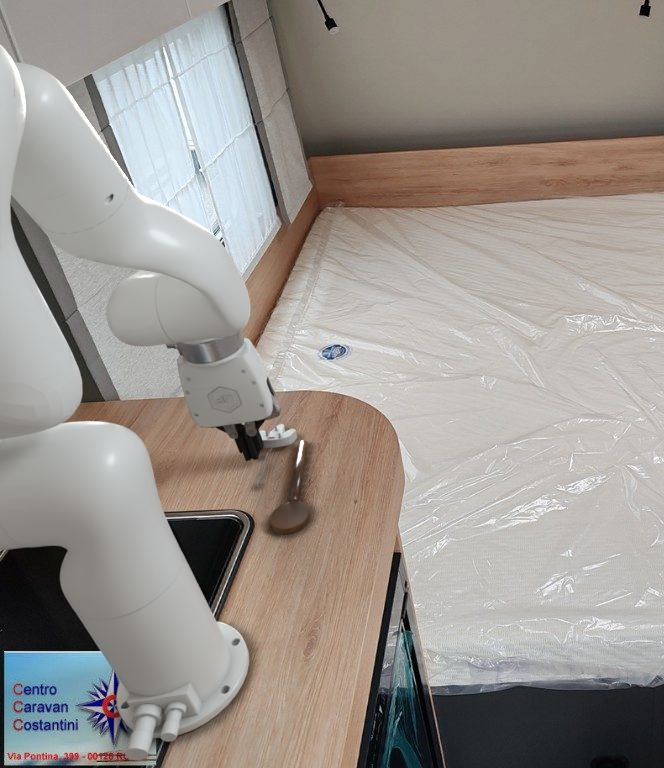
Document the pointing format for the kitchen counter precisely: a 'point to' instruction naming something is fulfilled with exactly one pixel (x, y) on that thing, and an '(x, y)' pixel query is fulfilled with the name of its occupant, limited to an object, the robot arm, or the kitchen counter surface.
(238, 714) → the kitchen counter surface
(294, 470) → the spoon
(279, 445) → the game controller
